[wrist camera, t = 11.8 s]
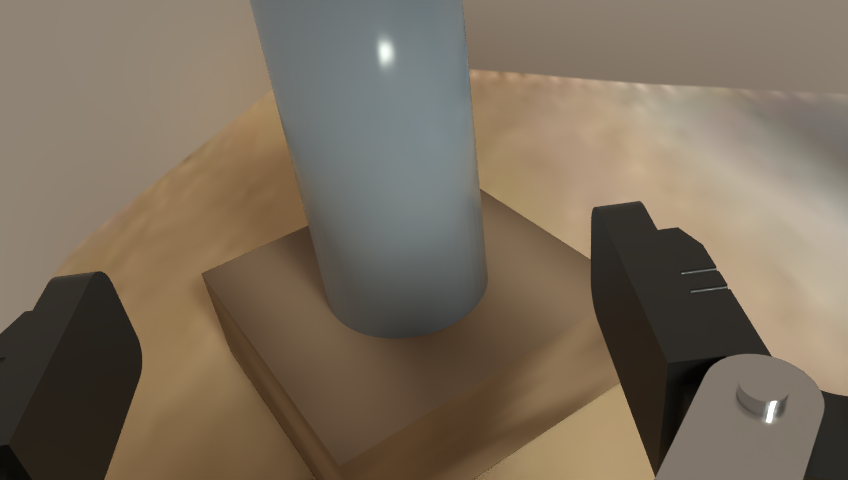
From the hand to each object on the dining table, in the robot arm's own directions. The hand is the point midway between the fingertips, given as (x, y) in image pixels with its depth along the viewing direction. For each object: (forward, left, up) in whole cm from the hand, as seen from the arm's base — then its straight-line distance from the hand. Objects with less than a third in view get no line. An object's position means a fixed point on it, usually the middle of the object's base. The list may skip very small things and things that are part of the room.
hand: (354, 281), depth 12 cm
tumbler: (-5, -9, -8) cm, 14 cm away
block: (-5, -9, -12) cm, 16 cm away
